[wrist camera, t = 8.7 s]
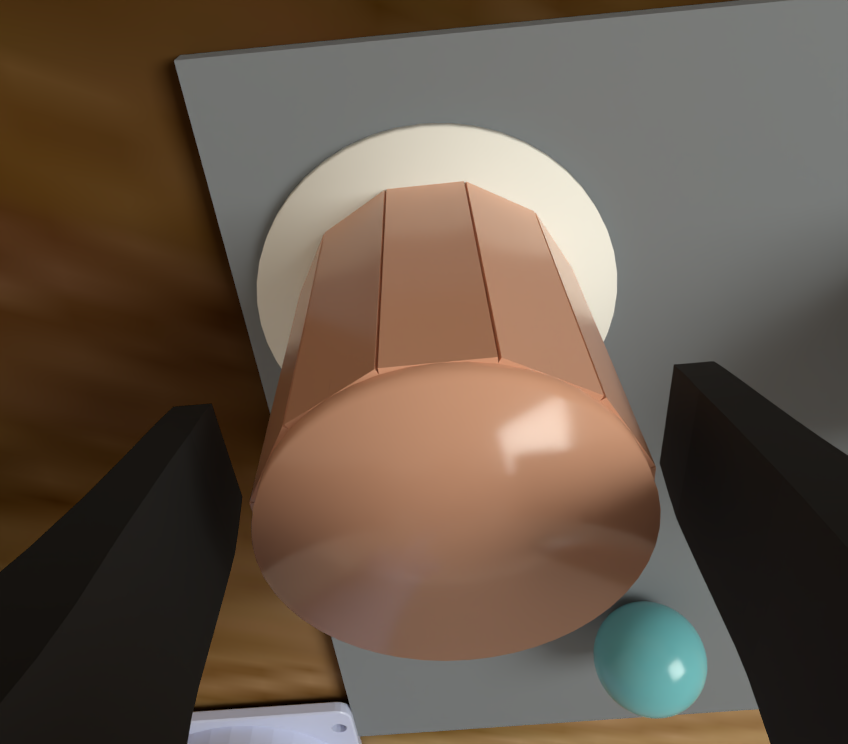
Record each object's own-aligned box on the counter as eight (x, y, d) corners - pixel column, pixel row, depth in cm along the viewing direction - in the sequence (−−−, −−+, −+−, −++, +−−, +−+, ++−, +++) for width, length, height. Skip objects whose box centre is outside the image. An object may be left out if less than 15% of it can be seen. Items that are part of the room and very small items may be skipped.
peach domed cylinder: (568, 405, 16) (643, 646, 11) (329, 426, 16) (296, 673, 11) (575, 169, 13) (683, 360, 8) (276, 200, 13) (200, 405, 8)
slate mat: (938, 685, 24) (951, 704, 24) (358, 725, 25) (358, 745, 24) (1398, -65, 11) (1451, -61, 11) (180, 55, 12) (168, 64, 11)
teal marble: (679, 637, 22) (715, 736, 19) (581, 645, 22) (603, 743, 19) (693, 575, 20) (733, 674, 17) (585, 582, 20) (611, 682, 18)
